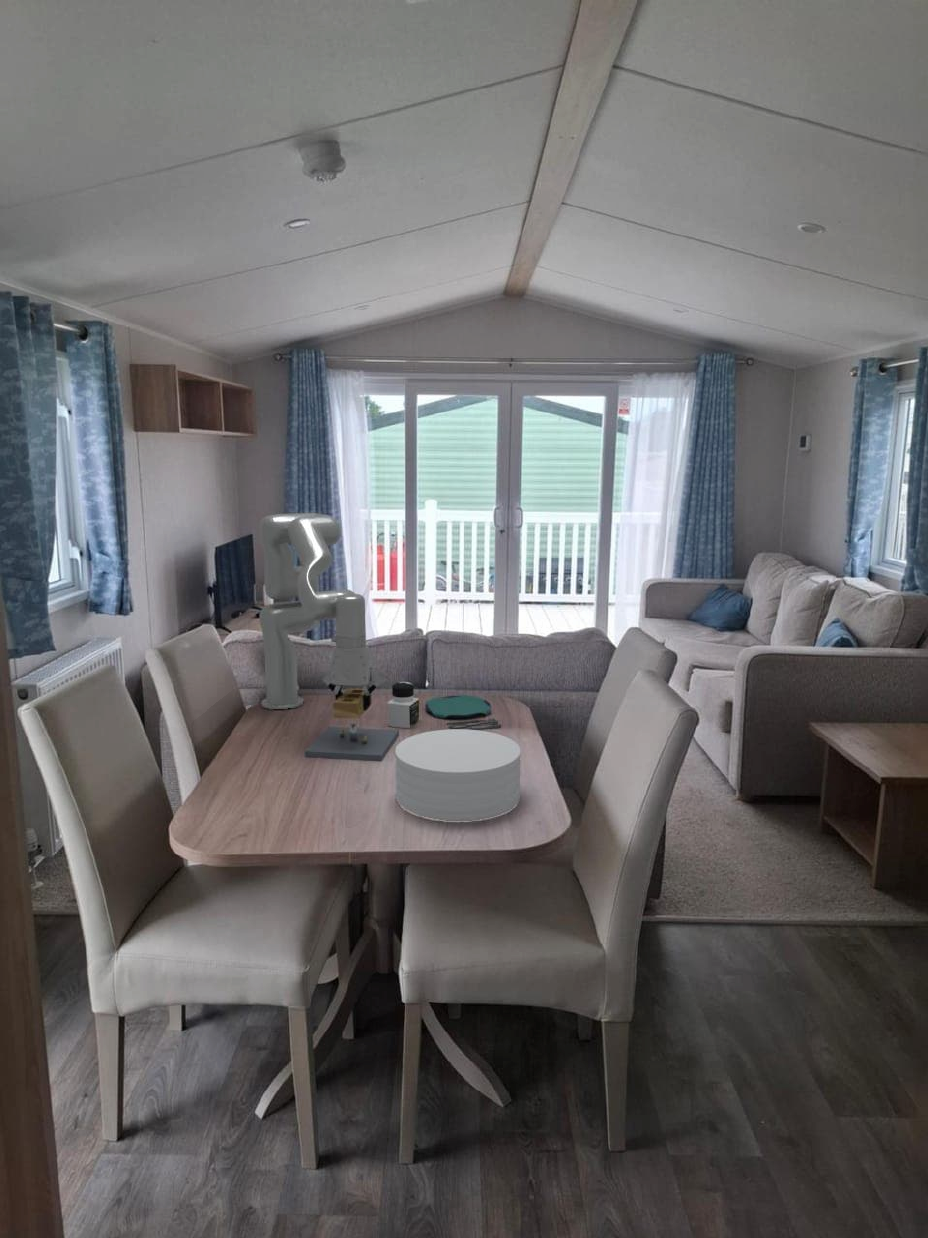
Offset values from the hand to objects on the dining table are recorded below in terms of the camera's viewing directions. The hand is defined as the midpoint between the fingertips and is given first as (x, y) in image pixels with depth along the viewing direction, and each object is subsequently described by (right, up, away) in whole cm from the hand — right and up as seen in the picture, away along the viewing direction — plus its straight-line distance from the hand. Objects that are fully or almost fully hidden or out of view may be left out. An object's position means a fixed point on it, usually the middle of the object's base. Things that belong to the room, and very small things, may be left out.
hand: (353, 707), depth 222 cm
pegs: (0, -9, +2) cm, 9 cm away
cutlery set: (+28, -6, +29) cm, 41 cm away
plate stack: (+28, -17, -31) cm, 45 cm away
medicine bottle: (+12, -7, +20) cm, 25 cm away
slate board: (0, -10, +2) cm, 10 cm away
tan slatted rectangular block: (0, -1, 0) cm, 1 cm away
